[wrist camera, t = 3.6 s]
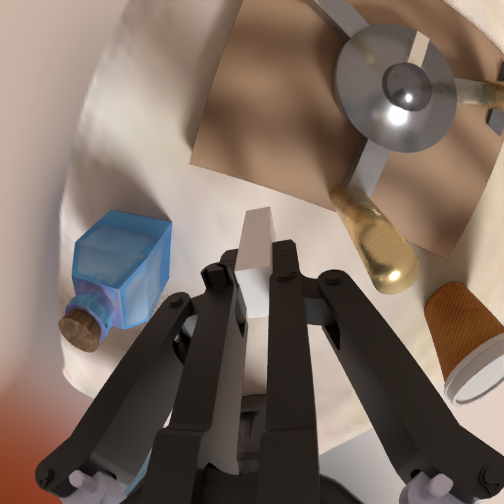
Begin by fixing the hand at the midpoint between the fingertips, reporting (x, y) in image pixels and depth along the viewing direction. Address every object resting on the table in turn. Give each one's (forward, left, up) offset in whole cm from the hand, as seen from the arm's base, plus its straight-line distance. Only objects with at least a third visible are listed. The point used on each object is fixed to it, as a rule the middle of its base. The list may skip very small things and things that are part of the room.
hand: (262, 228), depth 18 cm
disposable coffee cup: (-4, -24, -6) cm, 25 cm away
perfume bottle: (-8, +10, -6) cm, 14 cm away
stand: (+12, -5, -5) cm, 14 cm away
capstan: (+10, -5, -3) cm, 12 cm away
